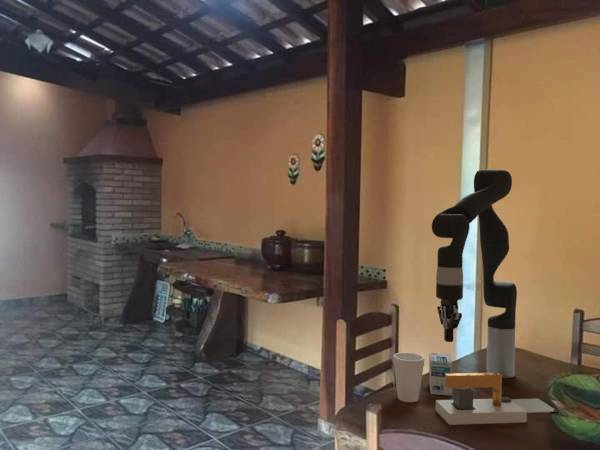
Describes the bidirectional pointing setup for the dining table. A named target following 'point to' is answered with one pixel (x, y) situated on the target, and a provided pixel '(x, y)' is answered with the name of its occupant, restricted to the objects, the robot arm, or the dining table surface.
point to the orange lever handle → (477, 383)
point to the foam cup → (408, 375)
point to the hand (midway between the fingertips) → (448, 341)
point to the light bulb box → (439, 373)
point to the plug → (463, 398)
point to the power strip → (482, 412)
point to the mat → (533, 405)
